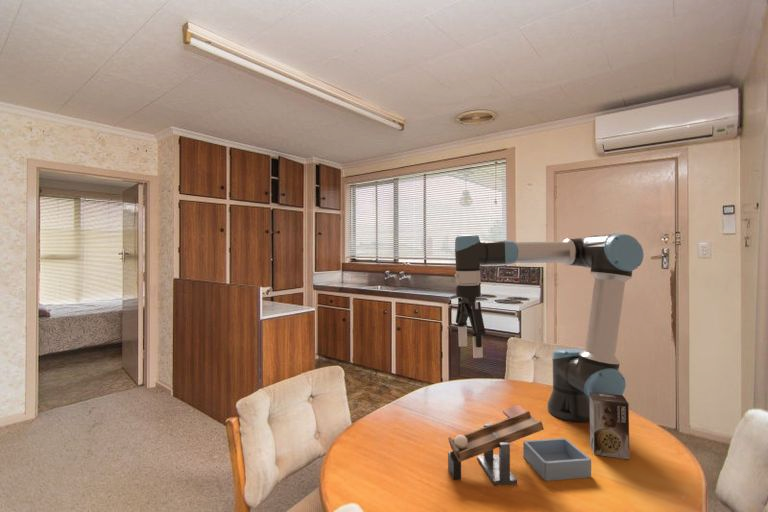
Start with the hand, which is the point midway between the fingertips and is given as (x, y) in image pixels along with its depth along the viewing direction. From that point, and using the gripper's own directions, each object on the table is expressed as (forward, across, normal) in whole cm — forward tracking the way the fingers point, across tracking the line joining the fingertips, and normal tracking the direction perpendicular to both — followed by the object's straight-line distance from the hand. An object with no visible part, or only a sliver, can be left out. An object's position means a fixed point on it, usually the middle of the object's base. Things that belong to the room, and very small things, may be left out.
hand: (470, 351), depth 118 cm
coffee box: (+28, +13, +36) cm, 48 cm away
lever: (+19, +15, 0) cm, 24 cm away
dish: (+28, +18, +17) cm, 37 cm away
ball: (+19, +18, -10) cm, 28 cm away
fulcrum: (+27, +18, -5) cm, 33 cm away
